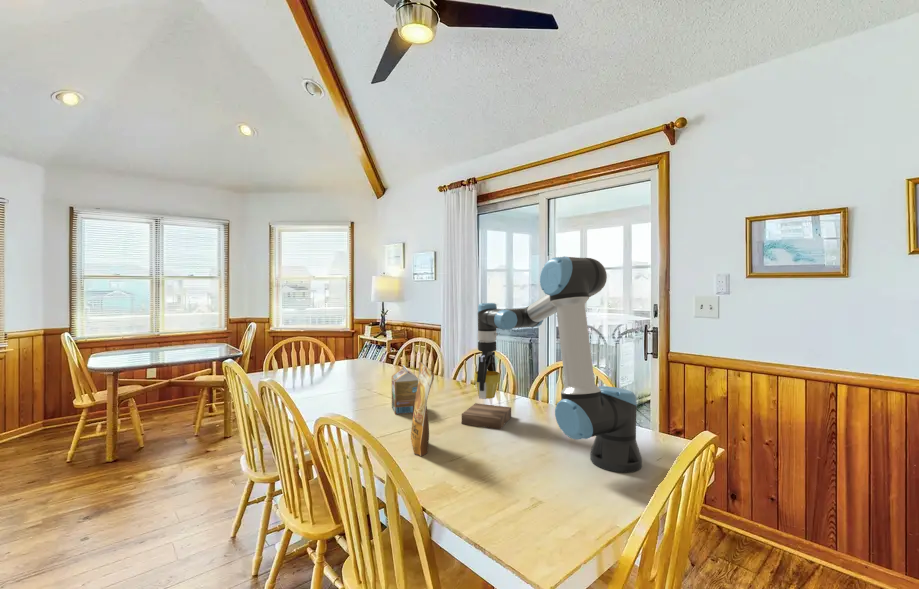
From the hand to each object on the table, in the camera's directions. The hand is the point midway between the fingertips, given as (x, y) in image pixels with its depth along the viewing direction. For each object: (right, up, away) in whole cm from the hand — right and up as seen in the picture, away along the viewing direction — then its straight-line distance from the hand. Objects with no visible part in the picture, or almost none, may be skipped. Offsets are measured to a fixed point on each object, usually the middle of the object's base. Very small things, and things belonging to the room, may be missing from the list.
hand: (486, 395), depth 172 cm
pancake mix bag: (-24, -11, -28) cm, 39 cm away
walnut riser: (0, -10, 0) cm, 10 cm away
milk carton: (-35, -10, +15) cm, 39 cm away
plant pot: (0, -1, 0) cm, 1 cm away
